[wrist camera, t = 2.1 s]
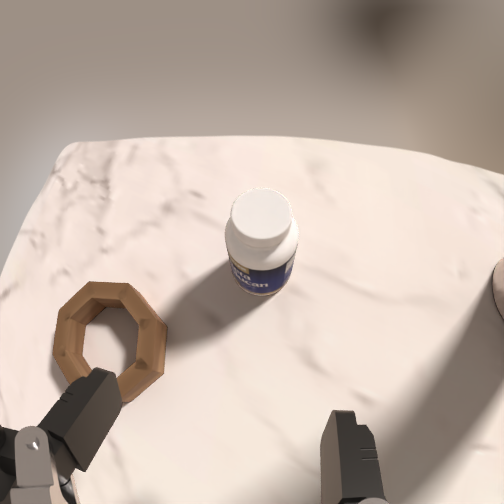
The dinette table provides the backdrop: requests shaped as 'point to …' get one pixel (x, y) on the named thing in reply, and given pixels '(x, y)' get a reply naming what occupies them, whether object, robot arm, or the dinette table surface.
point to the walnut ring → (85, 310)
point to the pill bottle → (261, 241)
